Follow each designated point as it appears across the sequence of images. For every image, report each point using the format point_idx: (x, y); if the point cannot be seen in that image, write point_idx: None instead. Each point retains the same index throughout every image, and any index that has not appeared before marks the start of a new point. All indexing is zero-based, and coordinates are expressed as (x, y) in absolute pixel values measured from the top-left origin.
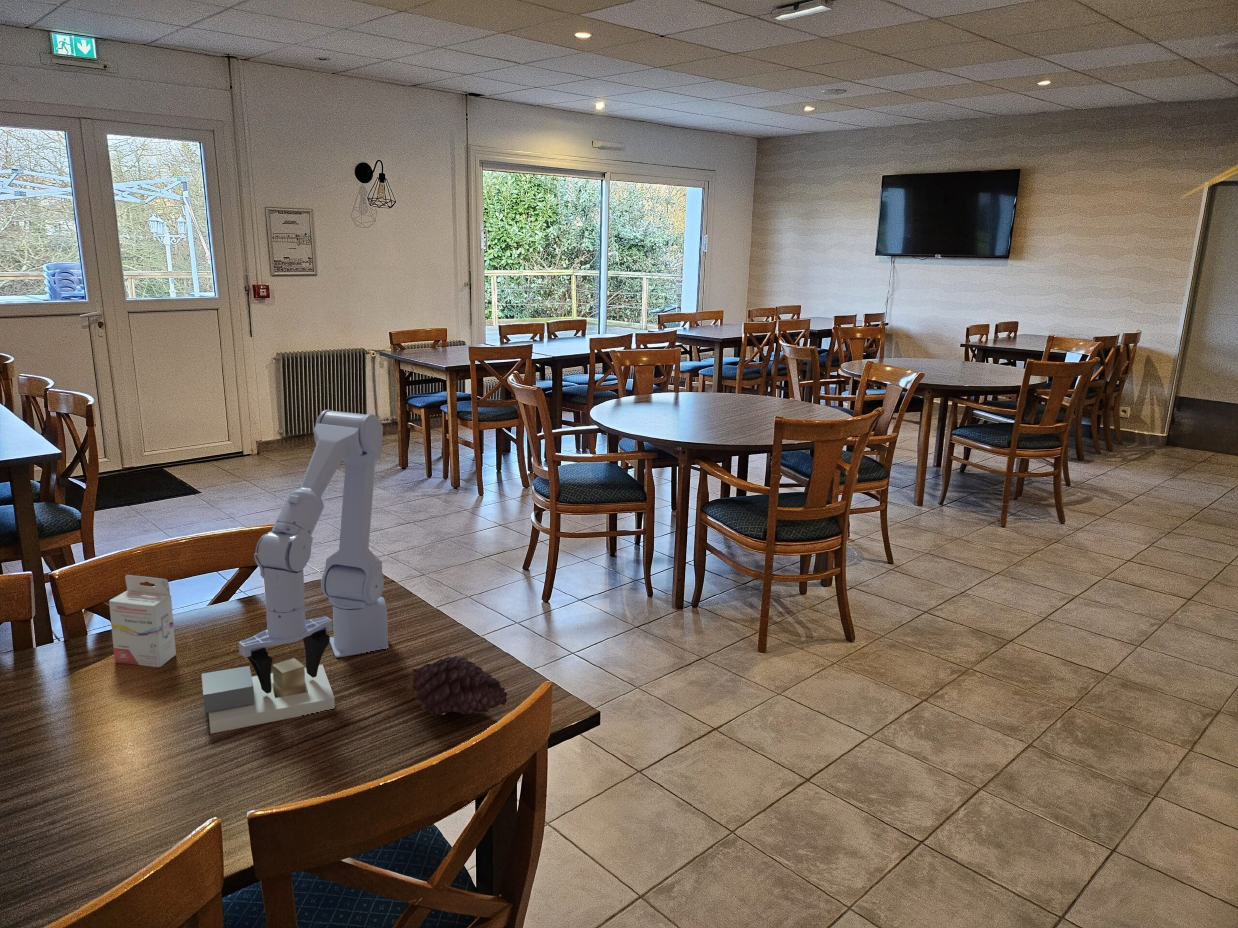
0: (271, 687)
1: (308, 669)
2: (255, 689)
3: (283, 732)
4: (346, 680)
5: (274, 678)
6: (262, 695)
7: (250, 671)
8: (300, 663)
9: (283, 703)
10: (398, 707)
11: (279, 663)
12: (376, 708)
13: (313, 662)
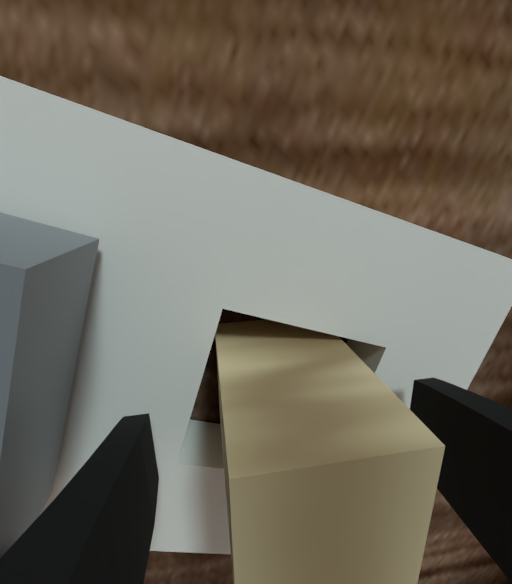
0: (154, 520)
1: (433, 420)
2: (111, 324)
3: (147, 564)
4: (500, 355)
5: (221, 405)
6: (127, 408)
7: (8, 399)
8: (420, 548)
9: (191, 522)
10: (479, 569)
11: (293, 485)
12: (439, 552)
13: (490, 540)
